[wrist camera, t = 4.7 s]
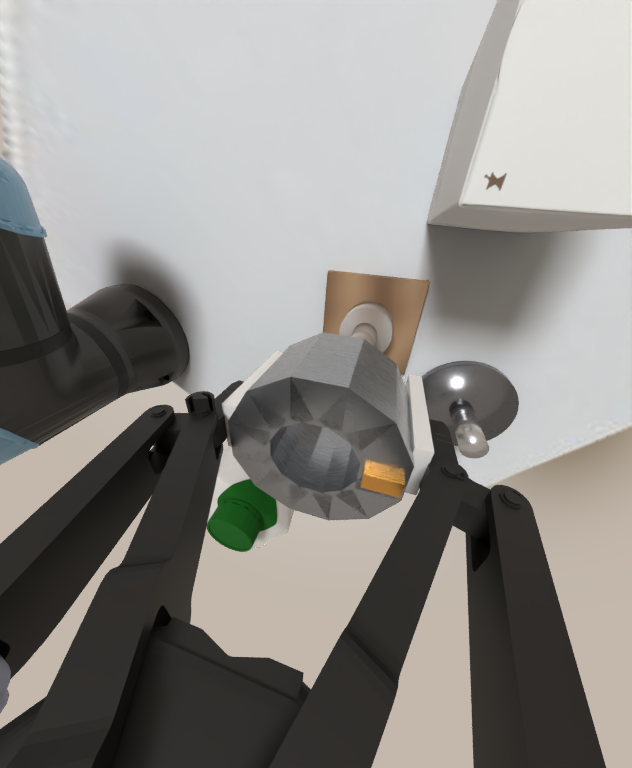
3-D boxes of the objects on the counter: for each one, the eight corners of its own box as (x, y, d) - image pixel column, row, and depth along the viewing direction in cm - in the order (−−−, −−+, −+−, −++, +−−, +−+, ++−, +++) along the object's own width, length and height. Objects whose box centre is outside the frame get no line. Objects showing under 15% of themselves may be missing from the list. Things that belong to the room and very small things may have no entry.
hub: (400, 428, 34) (400, 472, 28) (423, 353, 29) (429, 387, 22) (490, 448, 32) (512, 501, 26) (534, 371, 26) (577, 415, 20)
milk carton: (340, 410, 36) (288, 562, 19) (303, 440, 41) (235, 581, 24) (293, 369, 35) (194, 492, 18) (260, 404, 40) (159, 527, 23)
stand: (323, 355, 32) (295, 397, 24) (330, 270, 27) (298, 285, 19) (404, 370, 30) (405, 421, 22) (428, 280, 25) (441, 303, 17)
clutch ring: (275, 433, 18) (235, 499, 14) (271, 324, 14) (212, 367, 10) (389, 461, 17) (386, 546, 12) (424, 347, 12) (439, 411, 8)
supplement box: (535, 235, 21) (720, 236, 9) (424, 224, 23) (450, 213, 11) (610, 75, 17) (1221, -391, 4) (463, 77, 18) (593, -253, 6)
